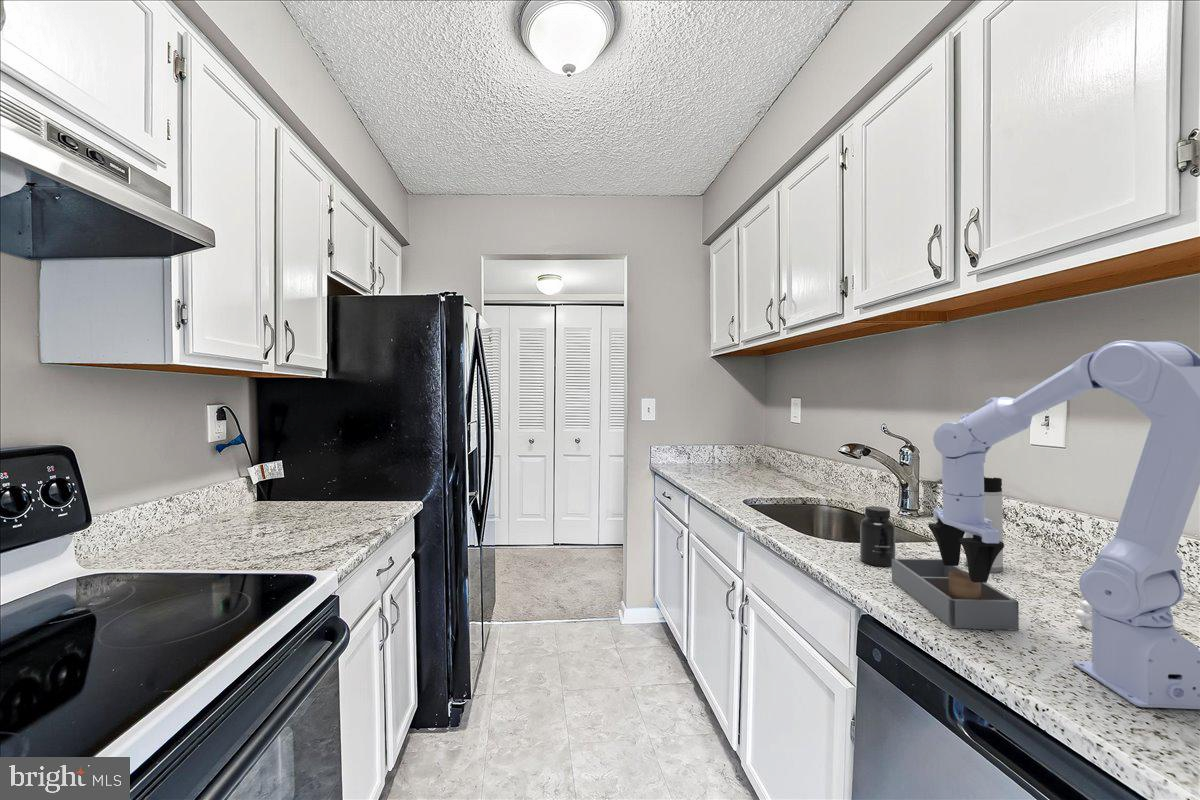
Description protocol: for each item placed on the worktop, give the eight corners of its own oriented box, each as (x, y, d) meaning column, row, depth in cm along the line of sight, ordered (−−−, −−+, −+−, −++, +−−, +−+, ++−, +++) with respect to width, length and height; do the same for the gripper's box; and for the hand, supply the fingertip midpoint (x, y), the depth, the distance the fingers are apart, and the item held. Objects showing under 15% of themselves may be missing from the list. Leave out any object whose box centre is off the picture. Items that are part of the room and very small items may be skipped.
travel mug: (959, 566, 106) (957, 473, 106) (974, 560, 110) (973, 470, 109) (993, 575, 101) (992, 477, 100) (1008, 569, 104) (1007, 474, 104)
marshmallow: (1116, 629, 78) (1113, 601, 78) (1122, 633, 77) (1118, 605, 77) (1075, 627, 80) (1072, 599, 80) (1080, 631, 79) (1077, 603, 79)
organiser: (1018, 630, 79) (1018, 601, 79) (951, 628, 80) (950, 600, 80) (945, 581, 99) (944, 559, 98) (891, 580, 100) (891, 558, 100)
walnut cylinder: (986, 617, 82) (987, 580, 82) (958, 615, 82) (958, 579, 82) (970, 605, 86) (970, 571, 86) (943, 604, 87) (943, 570, 87)
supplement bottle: (881, 569, 106) (880, 513, 106) (853, 559, 112) (852, 507, 112) (902, 564, 109) (902, 509, 108) (874, 555, 115) (873, 503, 115)
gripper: (1020, 502, 76) (1021, 590, 77) (961, 484, 91) (963, 558, 91) (970, 502, 77) (972, 589, 77) (920, 485, 92) (922, 558, 92)
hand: (964, 573), depth 84 cm, fingers open, 7 cm apart
